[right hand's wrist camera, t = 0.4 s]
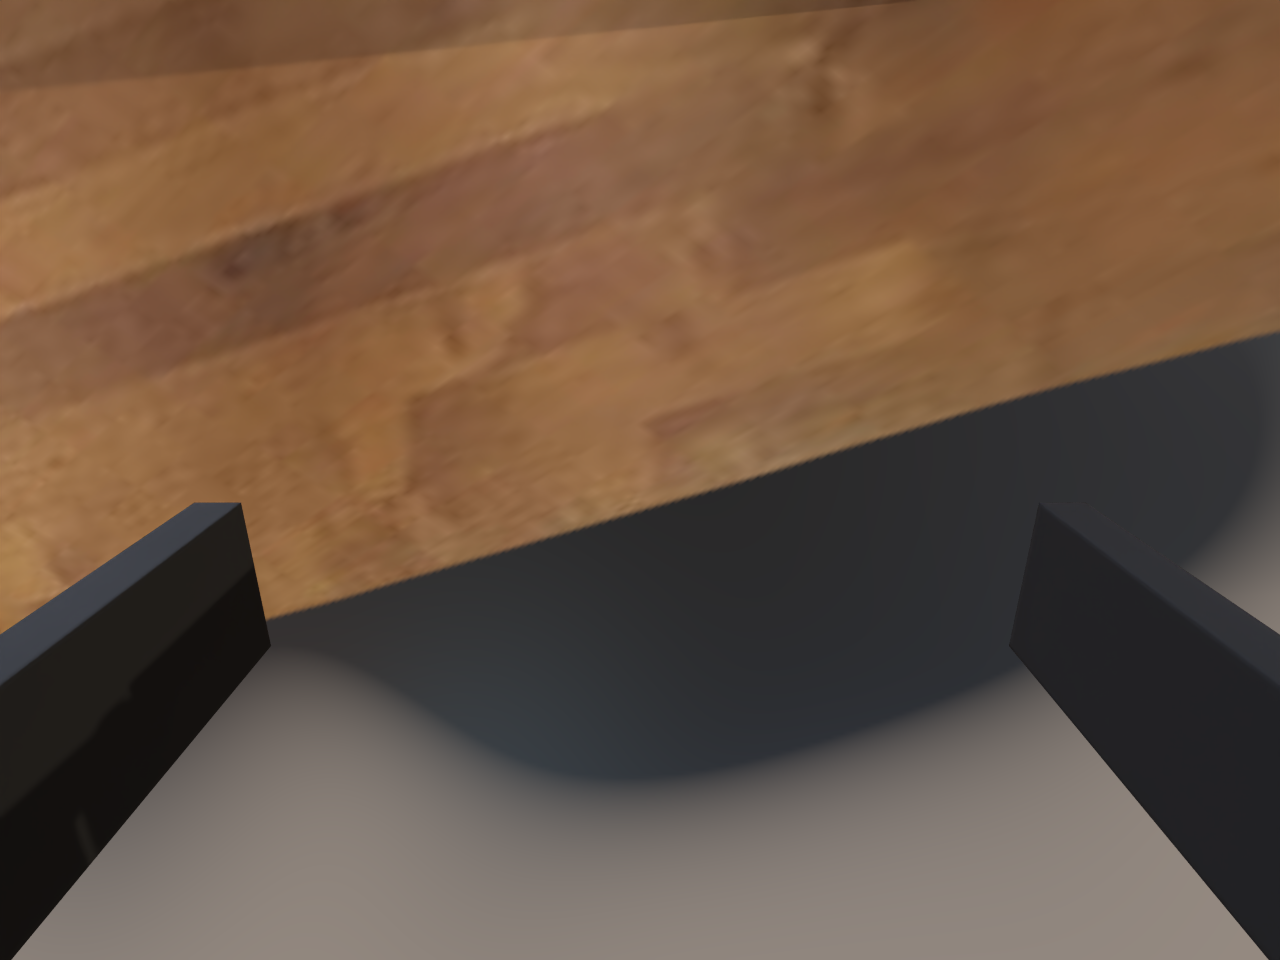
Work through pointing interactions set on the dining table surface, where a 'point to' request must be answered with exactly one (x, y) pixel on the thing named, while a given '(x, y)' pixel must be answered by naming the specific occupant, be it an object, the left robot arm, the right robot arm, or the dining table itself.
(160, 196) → the dining table surface
